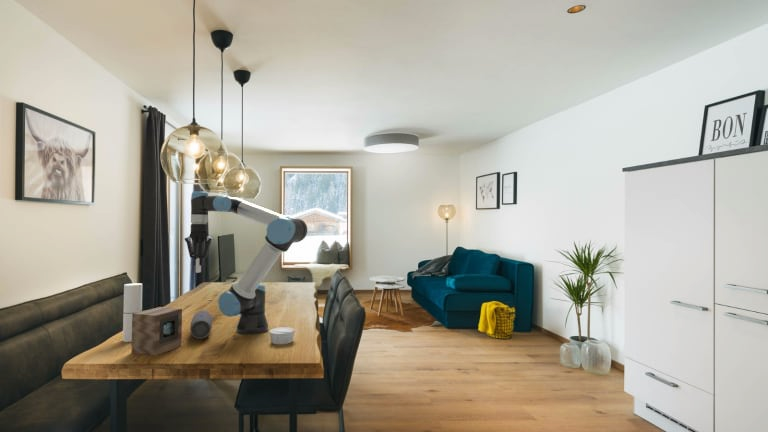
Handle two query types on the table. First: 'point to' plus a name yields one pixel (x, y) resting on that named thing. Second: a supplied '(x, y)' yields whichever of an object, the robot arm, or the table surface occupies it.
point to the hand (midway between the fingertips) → (198, 272)
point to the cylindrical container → (131, 307)
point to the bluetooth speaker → (201, 324)
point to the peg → (168, 328)
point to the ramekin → (281, 335)
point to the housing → (156, 330)
